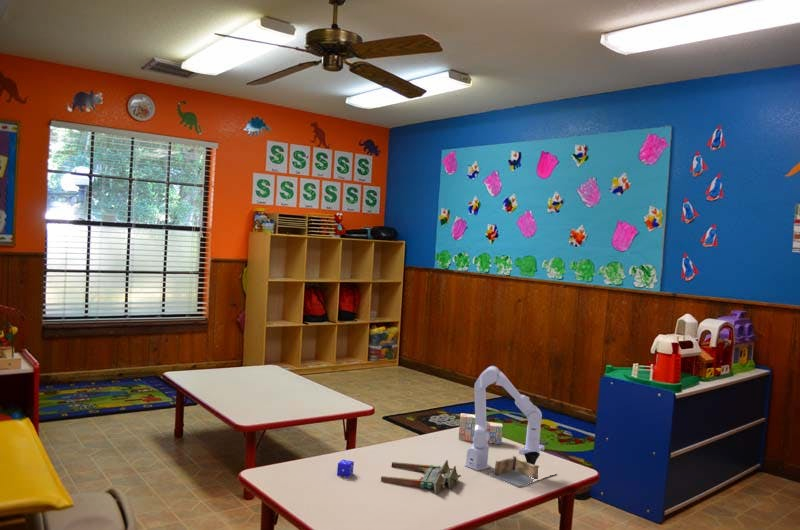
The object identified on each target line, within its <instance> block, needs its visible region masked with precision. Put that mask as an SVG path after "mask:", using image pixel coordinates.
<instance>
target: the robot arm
mask: <svg viewBox="0 0 800 530" xmlns="http://www.w3.org/2000/svg"><path fill="white" fill-rule="evenodd" d="M494 383H495V384H494ZM492 384H494V385H495V386H501V387H503V389H504V390H505V391H506V392H507V393H509V395H510V396H511V397H512V398H513V399H514V404H515V405H516V407H517V408H518V409H519V410H520V411H521V413H522V414H523V415H524V416H525V417H526V419H527V426H526V436H525V444H524V445H525V446H523V447H522V448H519V450H518V454H519V455H521V456H524V457H525V461H526V462H528V463H530V464H533V465H536V462H537V460H538V459H539V457H540V455H541V453H540V452H541V451H545V445H543V444H540V440H541V428H542V427H541V426H542V423H541V422H542V421H543V420H542V417H543V415H542V414H543V412H542V411H541V410H540V408H538V406H537V405H534V404H533V402H532V401H531V400H530V397H529V396H526V394H521V392H519V391H518V390H517V388H516V387H515V386H514V385H513V383H512V382H511V381H510V380H509V378H508V377H507V376H506V375H505V374H504V373H503V371H501V370H500V369H499V367H498V366H495V365H490V366H488V367H487V368H486V369H484V370H483V371H482V372H481V374H480V375H479V376H478V378H477V379H476V381H475V382H474V387H473V388H474V415H475V424H476V425H475V434H474V437H473V442H472V446H471V447H470V448H468V449H467V451H466V457H465V459H466V460H465V464H464V466H465V467H467V468H470V469H473V470H474V471H478V472H479V471H483V470H486V469H489V468H491V467H492V465H490V464H488V462H489V461H488V460H489V451H490V446H489V443H487V441H488V440H489V438H490V434H489V432H488V429H487V423H486V422H487V397H486V396H487V395H486V394H487V393H486V389H487V387H489V385H492Z"/></svg>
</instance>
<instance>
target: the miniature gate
mask: <svg viewBox="0 0 800 530" xmlns="http://www.w3.org/2000/svg"><path fill="white" fill-rule="evenodd" d="M456 467H457V466H456V465H454V466H453V468H450V465H449V461H448V459H446V460H445V462H444V463H443V464H442V466H441V465H434V464H430V465H428V464H419V463H418V464H417V463H409V462H408V463H405V462H396V461H395V462H394V461H392V462H391V468H396V469H401V470H402V469H403V470H408V471H417V472H423V474H424V476H422V477H420V478H417V479H416V478H415V479H414V478H406V477H405V478H403V477H396V476H395V477H394V476H383V475H382V476H381V477H380V482H381V483H387V484H395V485H400V486H409V487H419V488H422V489H423V488H428V489H431V488H433V490H434V494H435V495H436V496H438V495H439V493H440V491H441V490H442V489H443V488H444V489H446V486H445V484H446V483H447V486H448V489H449V491H452V489H453V487H454V485H456V484H458V483H459V478H461V477H462V475H461V474H458V472H457V468H456Z"/></svg>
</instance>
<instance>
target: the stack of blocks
mask: <svg viewBox="0 0 800 530" xmlns="http://www.w3.org/2000/svg"><path fill="white" fill-rule="evenodd" d="M486 423H487V429H488V432H489V434H490V438H489V440H488V441H487V443H488V444H489V443H494V444H493V445H497V444H501V445H502V439H503V428H504V427H503V423H501V422H493V421H492V422H491V421H486ZM475 425H476V424H475V413H474V414H471V413H462V412H461V413H460V418H459V427H458V429H459V432H458V441H463V440H464V441H466V442H471V441H473V437H474V434H475ZM464 441H463V442H464Z"/></svg>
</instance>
